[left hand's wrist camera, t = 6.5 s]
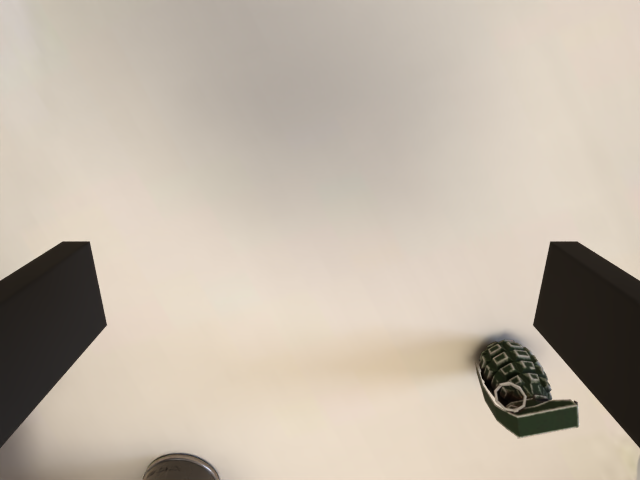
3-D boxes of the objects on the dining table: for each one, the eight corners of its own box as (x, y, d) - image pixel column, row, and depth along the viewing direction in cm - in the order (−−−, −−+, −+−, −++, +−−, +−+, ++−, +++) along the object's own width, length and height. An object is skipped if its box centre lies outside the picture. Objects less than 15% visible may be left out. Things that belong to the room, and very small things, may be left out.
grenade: (524, 325, 45) (578, 390, 36) (529, 368, 47) (581, 440, 38) (463, 338, 46) (500, 405, 36) (470, 380, 48) (506, 454, 38)
